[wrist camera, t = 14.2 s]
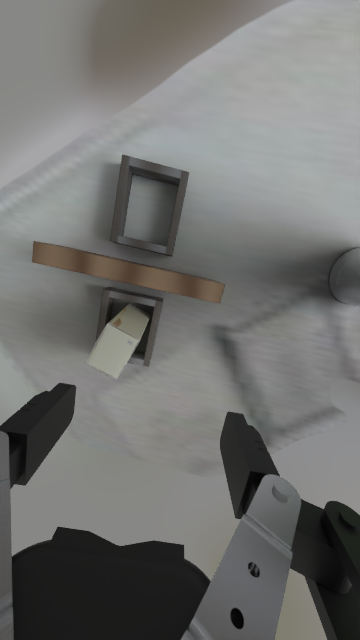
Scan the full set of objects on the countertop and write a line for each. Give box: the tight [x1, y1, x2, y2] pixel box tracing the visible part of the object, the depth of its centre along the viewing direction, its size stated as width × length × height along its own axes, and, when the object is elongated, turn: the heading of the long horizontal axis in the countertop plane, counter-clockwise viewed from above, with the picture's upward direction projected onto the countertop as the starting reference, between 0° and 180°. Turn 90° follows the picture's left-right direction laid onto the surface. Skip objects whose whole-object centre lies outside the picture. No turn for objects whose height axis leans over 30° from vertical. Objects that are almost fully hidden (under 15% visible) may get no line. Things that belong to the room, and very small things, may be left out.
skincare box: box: [86, 303, 151, 380], centre depth 32 cm, size 6×4×12 cm
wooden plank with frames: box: [32, 155, 225, 367], centre depth 32 cm, size 24×29×8 cm
